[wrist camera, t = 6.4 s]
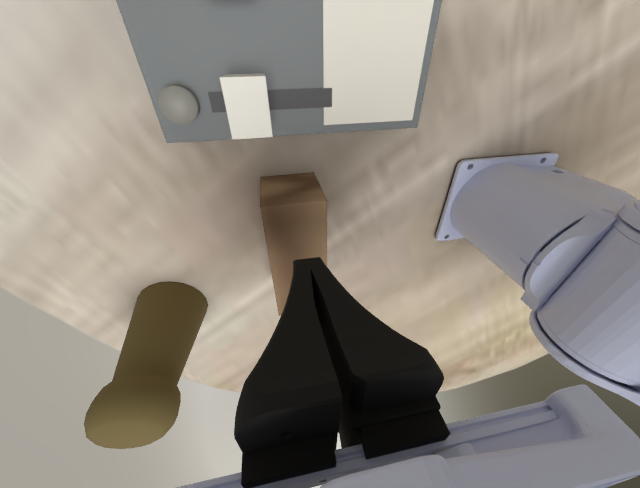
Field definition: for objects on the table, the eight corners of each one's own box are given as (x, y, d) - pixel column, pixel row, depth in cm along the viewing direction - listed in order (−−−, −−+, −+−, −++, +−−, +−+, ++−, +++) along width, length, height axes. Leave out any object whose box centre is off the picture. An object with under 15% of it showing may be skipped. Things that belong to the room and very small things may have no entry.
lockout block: (313, 171, 20) (326, 200, 16) (316, 269, 25) (326, 308, 21) (260, 176, 19) (260, 206, 15) (276, 274, 25) (278, 315, 21)
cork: (120, 299, 23) (34, 447, 14) (177, 271, 22) (124, 408, 14) (170, 332, 27) (126, 466, 18) (220, 309, 26) (200, 436, 17)
